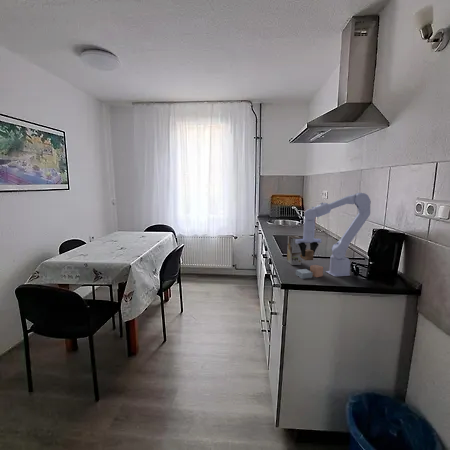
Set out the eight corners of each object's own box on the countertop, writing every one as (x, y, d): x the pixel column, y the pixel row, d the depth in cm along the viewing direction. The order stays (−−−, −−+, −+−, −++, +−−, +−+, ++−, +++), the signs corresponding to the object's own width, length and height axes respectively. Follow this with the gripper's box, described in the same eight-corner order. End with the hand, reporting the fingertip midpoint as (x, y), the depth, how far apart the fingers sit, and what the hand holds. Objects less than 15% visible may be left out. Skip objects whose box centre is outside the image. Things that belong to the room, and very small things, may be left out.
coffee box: (301, 265, 157) (303, 238, 154) (291, 265, 156) (292, 238, 154) (296, 260, 166) (297, 235, 163) (286, 260, 165) (287, 235, 163)
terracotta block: (315, 273, 142) (316, 264, 141) (322, 276, 138) (323, 266, 137) (309, 274, 140) (310, 265, 139) (316, 277, 136) (316, 268, 135)
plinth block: (305, 274, 141) (306, 268, 141) (312, 278, 135) (312, 272, 135) (295, 275, 139) (295, 269, 139) (301, 279, 134) (302, 273, 133)
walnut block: (308, 257, 148) (309, 249, 147) (313, 260, 144) (313, 251, 143) (301, 258, 147) (301, 249, 146) (305, 260, 143) (306, 251, 142)
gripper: (317, 229, 149) (315, 253, 151) (293, 230, 145) (291, 254, 147) (324, 232, 142) (322, 256, 144) (299, 232, 139) (298, 258, 141)
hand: (307, 256), depth 145 cm, fingers closed on walnut block, 4 cm apart
